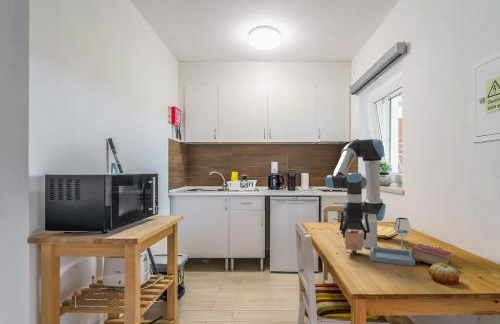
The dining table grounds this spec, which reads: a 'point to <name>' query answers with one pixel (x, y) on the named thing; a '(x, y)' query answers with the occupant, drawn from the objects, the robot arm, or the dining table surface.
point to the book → (430, 254)
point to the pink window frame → (353, 240)
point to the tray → (391, 256)
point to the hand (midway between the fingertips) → (354, 244)
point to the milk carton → (372, 235)
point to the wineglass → (402, 228)
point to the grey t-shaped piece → (355, 250)
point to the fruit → (444, 273)
